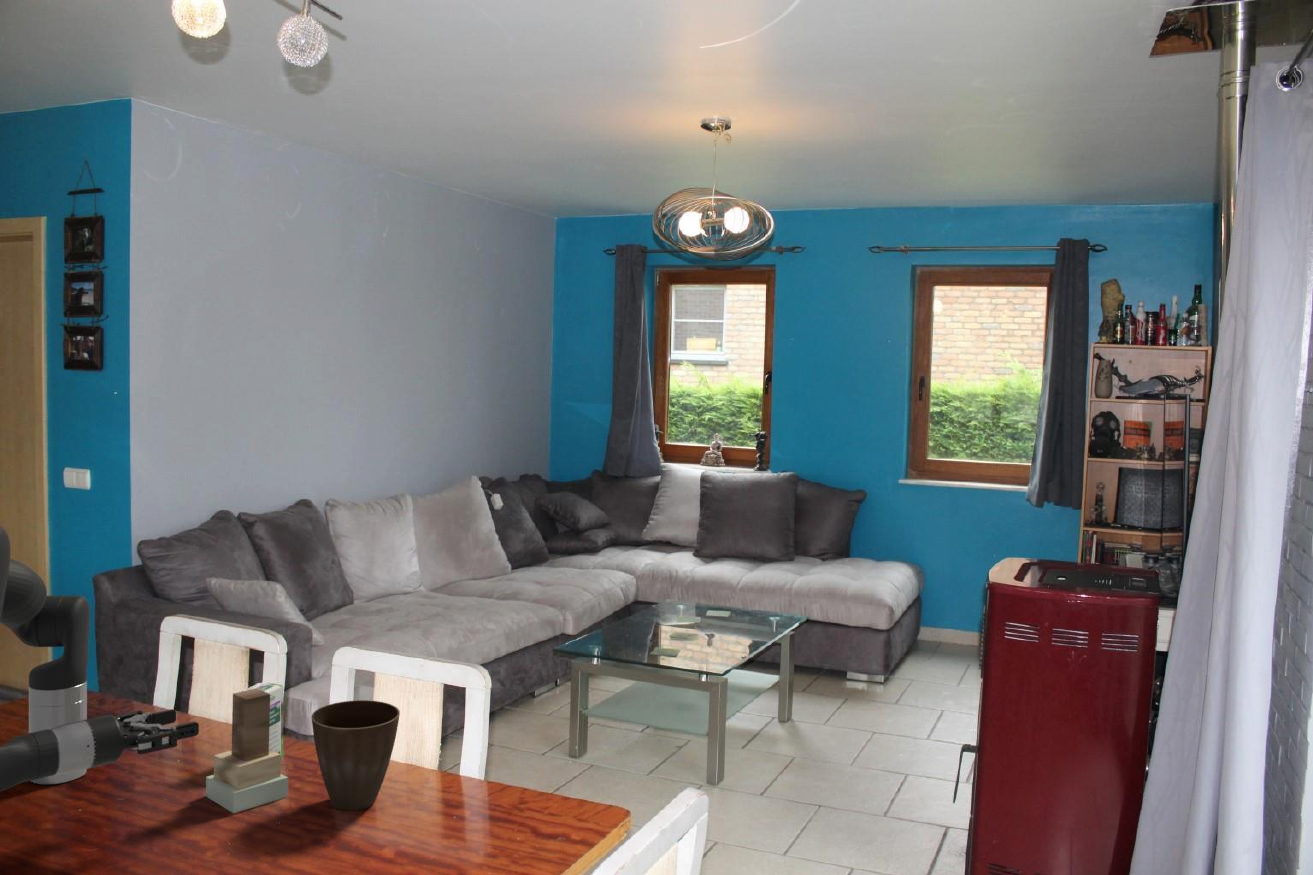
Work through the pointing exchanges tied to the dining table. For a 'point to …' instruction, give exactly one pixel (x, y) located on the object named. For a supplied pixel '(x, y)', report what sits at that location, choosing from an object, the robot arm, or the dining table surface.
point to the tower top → (246, 769)
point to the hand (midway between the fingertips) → (186, 721)
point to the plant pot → (354, 749)
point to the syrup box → (274, 714)
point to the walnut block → (250, 724)
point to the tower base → (246, 793)
